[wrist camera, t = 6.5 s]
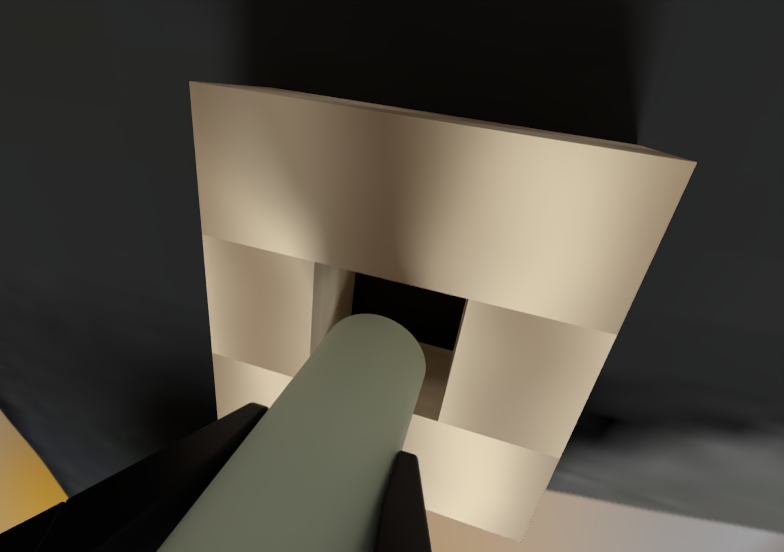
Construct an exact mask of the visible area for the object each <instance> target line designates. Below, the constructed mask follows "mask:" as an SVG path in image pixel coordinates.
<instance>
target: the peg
mask: <svg viewBox="0 0 784 552" xmlns="http://www.w3.org/2000/svg"><path fill="white" fill-rule="evenodd" d="M425 371H426V363H425V357H424V354H423V351H422V349H421V347H420V345H419V343H418V342H417V340H416V339H415V338H414V337H413V335H412V334H411V333H410V332H409V331H408V330H407V329H405V328H404V327H403V326H401V325H400V324H398V323H397V322H395V321H393V320H391V319H389V318H386V317H383V316H380V315H375V314H356V315H352V316H349V317H346V318H344V319H342V320H341V321H339V322H338V323H337V324H336V325H335V326H334V327H333V328H332V329H331V331H330V332H329V333H328V334H327V336H326V337H325V338H324V339H323V341H322V342H321V343H320V345H319V346H318V347H317V348H316V350H315V351H314V352H313V353H312V355H311V356H310V357H309V358H308V360H307V361H306V362H305V364H304V365H303V366H302V367H301V369H300V370H299V371H298V372H297V374H296V375H295V376H294V378H293V379H292V380H291V381H290V383H289V384H288V385H287V386H286V388H285V389H284V390H283V392H282V393H281V394H280V395H279V397H278V398H277V399H276V400H275V402H274V403H273V404H272V406H271V407H270V408H269V409H268V411H267V412H266V413H265V414H264V416H263V417H262V418H261V419H260V421H259V422H258V423H257V425H256V426H255V427H254V428H253V430H252V431H251V432H250V433H249V435H248V436H247V437H246V439H245V440H244V441H243V442H242V444H241V445H240V446H239V447H238V449H237V450H236V451H235V453H234V454H233V455H232V456H231V458H230V459H229V460H228V461H227V463H226V464H225V465H224V467H223V468H222V469H221V470H220V472H219V473H218V474H217V475H216V477H215V478H214V479H213V480H212V482H211V483H210V484H209V486H208V487H207V488H206V489H205V491H204V492H203V493H202V494H201V496H200V497H199V498H198V500H197V501H196V502H195V503H194V505H193V506H192V507H191V508H190V510H189V511H188V512H187V514H186V515H185V516H184V517H183V519H182V520H181V521H180V522H179V524H178V525H177V526H176V528H175V529H174V530H173V531H172V533H171V534H170V535H169V536H168V538H167V539H166V540H165V541H164V543H163V544H162V545H161V547H160V548H159V549H158V550H157V552H371V549H372V545H373V540H374V534H375V529H376V523H377V518H378V513H379V508H380V504H381V500H382V497H383V494H384V491H385V488H386V485H387V482H388V479H389V476H390V473H391V470H392V467H393V465H394V462H395V459H396V456H397V453H398V452H399V451H400V450H402V448H403V445H404V441H405V438H406V435H407V432H408V428H409V425H410V422H411V419H412V415H413V412H414V409H415V406H416V402H417V399H418V396H419V392H420V389H421V386H422V383H423V379H424V376H425Z"/></svg>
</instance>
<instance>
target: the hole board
mask: <svg viewBox="0 0 784 552" xmlns="http://www.w3.org/2000/svg"><path fill="white" fill-rule="evenodd" d="M189 84H190V96H191V108H192V120H193V131H194V143H195V155H196V167H197V178H198V190H199V202H200V214H201V225H202V237H203V249H204V261H205V273H206V284H207V296H208V308H209V320H210V331H211V343H212V355H213V367H214V378H215V390H216V402H217V414H218V419H220V418H222V417H224V416H226V415H227V414H229V413H231V412H233V411H235V410H237V409H239V408H241V407H243V406H245V405H246V404H248V403H252V402H254V403H258V404H261V405H264V406H267V407H268V408H270V407H271V406H272V404H273V403H274V402H275V400H276V399H277V398H278V397H279V395H280V394H281V393H282V392H283V390H284V389H285V388H286V386H287V385H288V384H289V383H290V381H291V380H292V379H293V378H294V376H295V375H296V374H297V372H298V371H299V370H300V369H301V367H302V366H303V365H304V364H305V362H306V361H307V360H308V358H309V357H310V356H311V355H312V353H313V352H314V351H315V350H316V348H317V347H318V346H319V345H320V343H321V342H322V341H323V339H324V338H325V337H326V336H327V334H328V333H329V332H330V331H331V329H332V328H333V327H334V326H335V325H336V324H337V323H338V322H339V321H341V320H342V319H344V318H346V317H349V316H351V313H352V303H353V293H354V284H355V274H356V272H358V273H363V274H367V275H371V276H375V277H379V278H383V279H387V280H391V281H396V282H400V283H404V284H408V285H412V286H416V287H420V288H425V289H429V290H433V291H437V292H441V293H445V294H449V295H453V296H458V297H462V298H466V301H465V305H464V309H463V314H462V318H461V322H460V326H459V330H458V334H457V338H456V342H455V346H454V350H453V351H451V350H447V349H443V348H439V347H436V346H432V345H428V344H425V343H421V342H418V343H419V345H420V347H421V349H422V351H423V354H424V357H425V363H426V371H425V376H424V379H423V383H422V386H421V389H420V392H419V396H418V399H417V402H416V406H415V409H414V412H413V415H412V419H411V422H410V425H409V428H408V432H407V435H406V438H405V441H404V445H403V448H402V451H406V452H409V453H412V454H415V455H416V456H417V458H418V462H419V469H420V475H421V482H422V489H423V496H424V503H425V509H426V510H429V511H432V512H435V513H438V514H440V515H444V516H446V517H449V518H452V519H455V520H458V521H461V522H463V523H466V524H469V525H472V526H475V527H478V528H481V529H483V530H486V531H489V532H492V533H495V534H498V535H501V536H503V537H506V538H509V539H512V540H515V541H518V542H521V541H522V539H523V537H524V534H525V532H526V530H527V528H528V526H529V524H530V522H531V519H532V517H533V515H534V513H535V511H536V509H537V506H538V504H539V502H540V500H541V498H542V496H543V494H544V491H545V489H546V487H547V485H548V483H549V481H550V479H551V476H552V474H553V472H554V470H555V468H556V466H557V463H558V461H559V459H560V457H561V455H562V453H563V450H564V448H565V446H566V444H567V442H568V440H569V438H570V435H571V433H572V431H573V429H574V427H575V425H576V422H577V420H578V418H579V416H580V414H581V412H582V409H583V407H584V405H585V403H586V401H587V399H588V397H589V394H590V392H591V390H592V388H593V386H594V384H595V381H596V379H597V377H598V375H599V373H600V371H601V369H602V366H603V364H604V362H605V360H606V358H607V356H608V353H609V351H610V349H611V347H612V345H613V343H614V340H615V338H616V336H617V334H618V332H619V330H620V328H621V325H622V323H623V321H624V319H625V317H626V315H627V312H628V310H629V308H630V306H631V304H632V302H633V299H634V297H635V295H636V293H637V291H638V289H639V287H640V284H641V282H642V280H643V278H644V276H645V274H646V271H647V269H648V267H649V265H650V263H651V261H652V258H653V256H654V254H655V252H656V250H657V248H658V246H659V243H660V241H661V239H662V237H663V235H664V233H665V230H666V228H667V226H668V224H669V222H670V220H671V217H672V215H673V213H674V211H675V209H676V207H677V205H678V202H679V200H680V198H681V196H682V194H683V192H684V189H685V187H686V185H687V183H688V181H689V179H690V177H691V174H692V172H693V170H694V168H695V166H696V164H697V162H694V161H691V160H687V159H684V158H680V157H677V156H674V155H670V154H667V153H663V152H660V151H657V150H653V149H650V148H646V147H643V146H640V145H635V144H629V143H622V142H616V141H609V140H603V139H597V138H590V137H584V136H577V135H571V134H565V133H558V132H552V131H545V130H539V129H533V128H526V127H520V126H513V125H507V124H501V123H494V122H488V121H481V120H475V119H469V118H462V117H456V116H449V115H443V114H437V113H430V112H424V111H418V110H411V109H405V108H398V107H392V106H386V105H379V104H373V103H366V102H360V101H354V100H347V99H341V98H334V97H328V96H322V95H315V94H309V93H302V92H296V91H290V90H283V89H277V88H269V87H256V86H244V85H231V84H218V83H205V82H193V81H189Z"/></svg>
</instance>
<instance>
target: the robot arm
mask: <svg viewBox="0 0 784 552" xmlns="http://www.w3.org/2000/svg"><path fill="white" fill-rule="evenodd" d="M268 409H269V408H268V407H267V406H264V405H261V404H258V403H254V402H252V403H248V404H246V405H245V406H243V407H241V408H239V409H237V410H235V411H233V412H231V413H229V414H227V415H226V416H224V417H222V418H220V419H218V420H216V421H214V422H212V423H210V424H209V425H207V426H205V427H203V428H201V429H199V430H197V431H195V432H193V433H192V434H190V435H188V436H186V437H184V438H182V439H180V440H178V441H176V442H175V443H173V444H171V445H169V446H167V447H165V448H163V449H161V450H159V451H158V452H156V453H154V454H152V455H150V456H148V457H146V458H144V459H142V460H141V461H139V462H137V463H135V464H133V465H131V466H129V467H127V468H125V469H124V470H122V471H120V472H118V473H116V474H114V475H112V476H110V477H108V478H106V479H105V480H103V481H101V482H99V483H97V484H95V485H93V486H91V487H89V488H88V489H86V490H84V491H82V492H80V493H78V494H76V495H74V496H72V497H71V498H69V499H68V500H67V501H66V503H65V502H61V503H59V504H57V505H55V506H53V507H51V508H50V509H48V510H46V511H44V512H42V513H40V514H38V515H36V516H34V517H32V518H30V519H28V520H26V521H24V522H23V523H21V524H18V525H17V526H15V527H13V528H11V529H9V530H7V531H5V532H3V533H1V534H0V552H157V550H158V549H159V548H160V547H161V545H162V544H163V543H164V541H165V540H166V539H167V538H168V536H169V535H170V534H171V533H172V531H173V530H174V529H175V528H176V526H177V525H178V524H179V522H180V521H181V520H182V519H183V517H184V516H185V515H186V514H187V512H188V511H189V510H190V508H191V507H192V506H193V505H194V503H195V502H196V501H197V500H198V498H199V497H200V496H201V494H202V493H203V492H204V491H205V489H206V488H207V487H208V486H209V484H210V483H211V482H212V480H213V479H214V478H215V477H216V475H217V474H218V473H219V472H220V470H221V469H222V468H223V467H224V465H225V464H226V463H227V461H228V460H229V459H230V458H231V456H232V455H233V454H234V453H235V451H236V450H237V449H238V447H239V446H240V445H241V444H242V442H243V441H244V440H245V439H246V437H247V436H248V435H249V433H250V432H251V431H252V430H253V428H254V427H255V426H256V425H257V423H258V422H259V421H260V419H261V418H262V417H263V416H264V414H265V413H266V412H267V411H268ZM371 552H432V551H431V544H430V537H429V530H428V524H427V517H426V510H425V503H424V496H423V489H422V482H421V475H420V469H419V462H418V458H417V456H416V455H415V454H412V453H409V452H406V451H402V450H400V451H399V452H398V453H397V456H396V459H395V462H394V465H393V467H392V470H391V473H390V476H389V479H388V482H387V485H386V488H385V491H384V494H383V497H382V500H381V504H380V508H379V513H378V518H377V523H376V529H375V534H374V540H373V545H372V550H371Z"/></svg>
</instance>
